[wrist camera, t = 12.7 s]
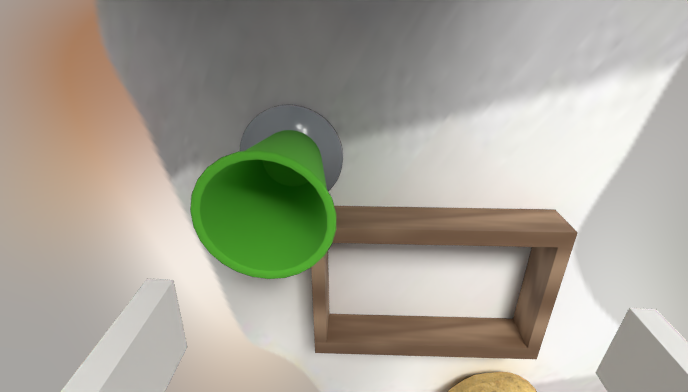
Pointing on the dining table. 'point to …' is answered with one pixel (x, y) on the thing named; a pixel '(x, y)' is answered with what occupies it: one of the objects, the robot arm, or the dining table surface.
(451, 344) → the pocket frame
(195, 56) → the dining table surface
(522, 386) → the potato
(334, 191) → the dining table surface
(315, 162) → the cup
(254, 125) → the coaster
